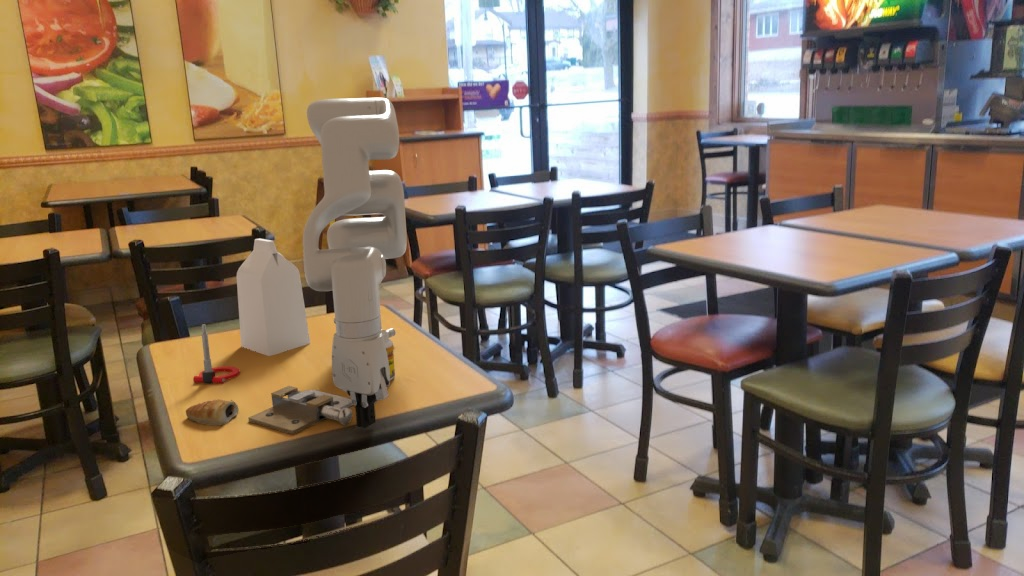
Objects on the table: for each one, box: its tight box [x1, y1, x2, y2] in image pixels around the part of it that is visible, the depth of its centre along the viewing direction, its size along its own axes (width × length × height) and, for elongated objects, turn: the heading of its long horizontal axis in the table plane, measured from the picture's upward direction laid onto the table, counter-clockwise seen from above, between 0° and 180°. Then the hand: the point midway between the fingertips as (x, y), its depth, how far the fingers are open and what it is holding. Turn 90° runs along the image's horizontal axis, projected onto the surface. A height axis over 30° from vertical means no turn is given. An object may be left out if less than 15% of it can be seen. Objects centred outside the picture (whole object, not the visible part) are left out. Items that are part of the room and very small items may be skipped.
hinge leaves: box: [248, 385, 354, 436], centre depth 150 cm, size 16×12×4 cm
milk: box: [236, 237, 311, 357], centre depth 189 cm, size 12×12×26 cm
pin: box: [301, 400, 353, 426], centre depth 147 cm, size 3×13×3 cm, turn 57°
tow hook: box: [193, 323, 241, 385], centre depth 170 cm, size 8×13×9 cm
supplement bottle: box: [380, 329, 396, 381], centre depth 166 cm, size 6×6×10 cm
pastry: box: [185, 398, 239, 426], centre depth 149 cm, size 9×7×4 cm
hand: (366, 424), depth 142 cm, fingers closed
